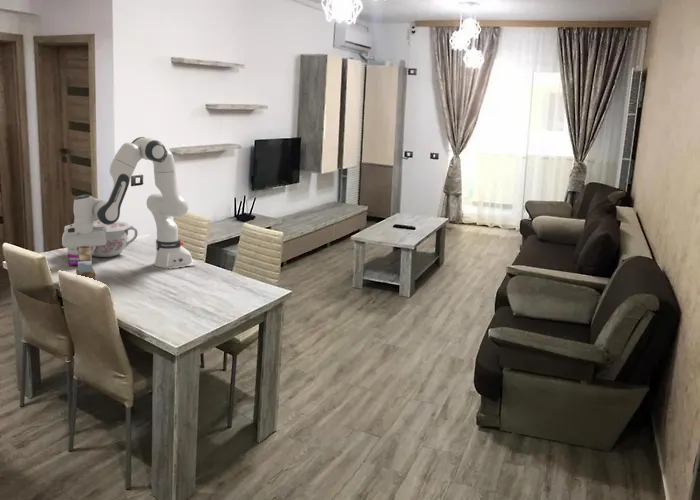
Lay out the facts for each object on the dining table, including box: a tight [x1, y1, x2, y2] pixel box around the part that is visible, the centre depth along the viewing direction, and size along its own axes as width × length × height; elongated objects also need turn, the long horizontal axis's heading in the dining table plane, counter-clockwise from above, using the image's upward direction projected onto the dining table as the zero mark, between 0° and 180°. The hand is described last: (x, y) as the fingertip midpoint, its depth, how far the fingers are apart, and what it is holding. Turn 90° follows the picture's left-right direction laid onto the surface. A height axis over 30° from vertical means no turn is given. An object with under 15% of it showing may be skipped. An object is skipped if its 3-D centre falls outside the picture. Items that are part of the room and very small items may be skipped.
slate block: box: [77, 261, 93, 273], centre depth 307 cm, size 6×6×4 cm
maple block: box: [79, 246, 91, 260], centre depth 304 cm, size 5×5×6 cm
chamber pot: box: [91, 219, 139, 258], centre depth 346 cm, size 28×28×21 cm
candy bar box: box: [67, 246, 93, 267], centre depth 325 cm, size 11×5×16 cm, turn 105°
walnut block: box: [75, 267, 96, 280], centre depth 308 cm, size 8×8×4 cm
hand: (84, 254), depth 304 cm, fingers closed on maple block, 5 cm apart
